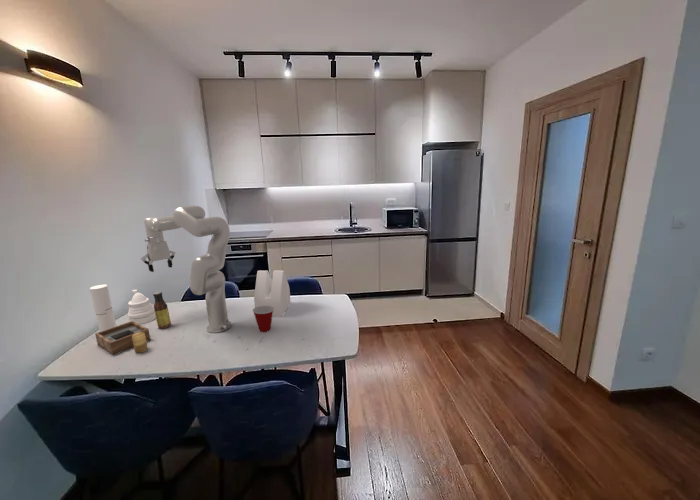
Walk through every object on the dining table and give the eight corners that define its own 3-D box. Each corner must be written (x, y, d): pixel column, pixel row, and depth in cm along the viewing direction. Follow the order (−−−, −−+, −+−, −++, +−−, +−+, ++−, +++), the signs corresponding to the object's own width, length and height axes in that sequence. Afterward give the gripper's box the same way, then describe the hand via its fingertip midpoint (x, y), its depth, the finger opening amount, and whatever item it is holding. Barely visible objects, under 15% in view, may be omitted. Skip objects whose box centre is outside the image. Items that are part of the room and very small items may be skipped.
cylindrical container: (119, 328, 164) (110, 285, 159) (104, 334, 158) (94, 289, 152) (112, 326, 167) (102, 283, 162) (97, 332, 161) (86, 288, 155)
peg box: (150, 339, 151) (148, 328, 149) (112, 355, 138) (110, 343, 136) (134, 331, 161) (132, 320, 159) (97, 344, 148) (95, 333, 146)
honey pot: (124, 322, 171) (117, 293, 167) (146, 313, 183) (140, 285, 179) (139, 326, 166) (132, 295, 162) (160, 316, 178) (155, 288, 174)
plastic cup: (280, 328, 158) (278, 307, 155) (261, 336, 150) (259, 314, 148) (268, 322, 165) (266, 302, 162) (250, 330, 157) (248, 309, 155)
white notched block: (267, 304, 192) (263, 266, 186) (290, 303, 191) (287, 266, 185) (256, 317, 173) (251, 276, 168) (282, 317, 172) (278, 275, 167)
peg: (149, 349, 142) (146, 333, 140) (137, 354, 138) (134, 338, 136) (144, 346, 145) (141, 331, 143) (133, 351, 141) (129, 335, 139)
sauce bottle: (173, 324, 166) (167, 291, 162) (163, 330, 161) (157, 295, 156) (165, 323, 169) (159, 290, 164) (154, 328, 163) (148, 294, 158)
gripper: (141, 243, 157) (147, 274, 160) (175, 237, 170) (180, 266, 174) (135, 242, 161) (141, 272, 165) (169, 236, 175) (174, 264, 178)
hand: (161, 269), depth 169 cm, fingers open, 9 cm apart
